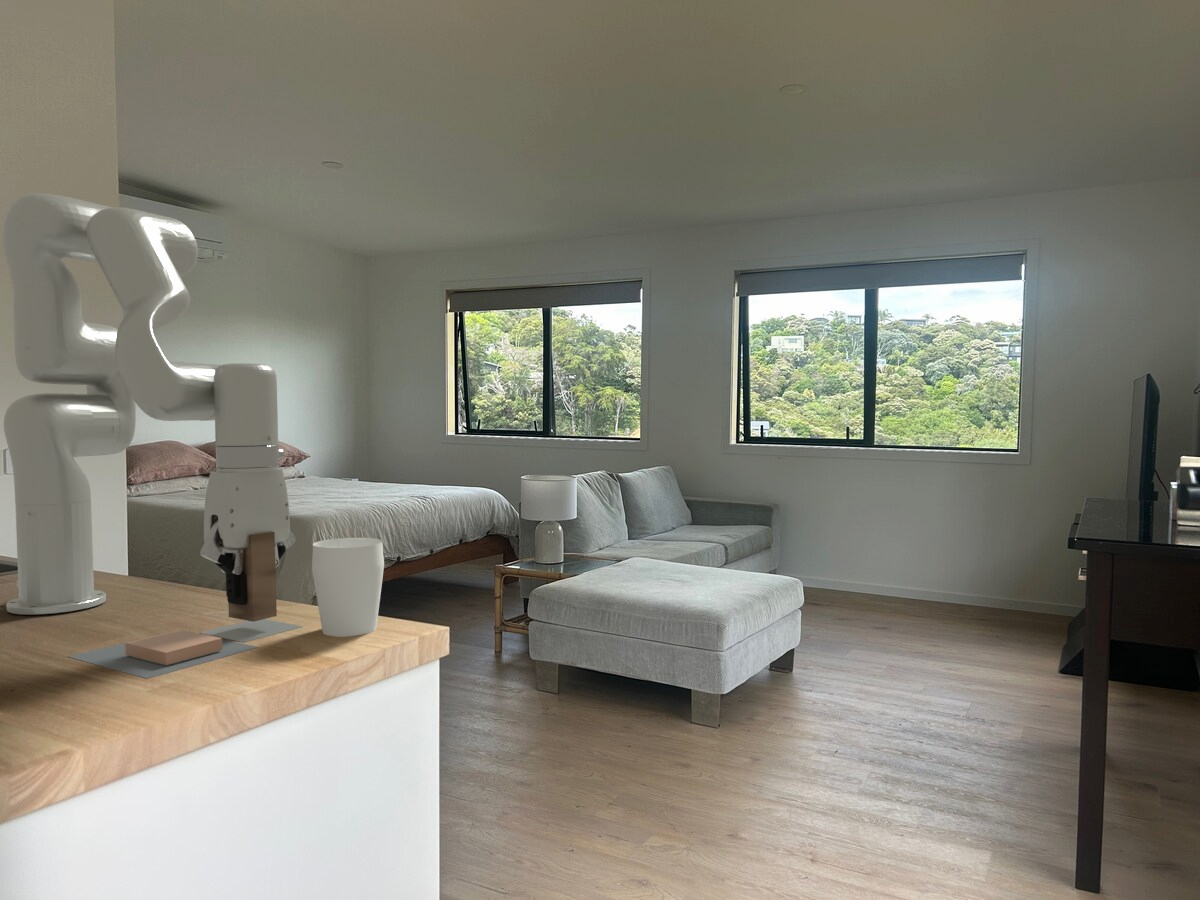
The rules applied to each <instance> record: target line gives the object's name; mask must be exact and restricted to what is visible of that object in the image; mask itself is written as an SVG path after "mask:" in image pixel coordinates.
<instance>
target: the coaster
mask: <svg viewBox="0 0 1200 900" xmlns="http://www.w3.org/2000/svg"><path fill="white" fill-rule="evenodd" d="M303 627H304V626H302V625H298V624H291V623H287V622H283V621H276V620H273V619H268V618H267V619H263V620H259V621H254V622H252V621H247V620H244V621H241V622H237V623H234V624H229V625H224V626H221V627H216V628H213V629H208V630H205V631H200V632H199V633H200V634H205V635H209V636H214V637H218V638H222V639H224V640H228V641H233V642H238V643H242V644H246V643H249V642H251V641H255V640H259V639H264V638H266V637H270V636H274V635H278V634H282V633H285V632H289V631H293V630H296V629H301V628H303Z"/></svg>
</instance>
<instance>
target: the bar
mask: <svg viewBox="0 0 1200 900" xmlns="http://www.w3.org/2000/svg"><path fill="white" fill-rule="evenodd" d="M232 560H233V559H232ZM276 569H277V567H275V532H268V533H262V534H255V535H249V544H248V547H247V548H246V549H245V550H244V561H243V570H242V573H245V574H246V577H247V603H246V604H245V605H238V604H232V603H229V602H228V601H227V603H228V606H227V607H228V618H231V619H237V620H242V621H252V622H254V621H259V620H263V619H267V620H268V619H272V618H274V617H277V614H278V613H277V612H278V611H277V609H278V608H277V578H276Z"/></svg>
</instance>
